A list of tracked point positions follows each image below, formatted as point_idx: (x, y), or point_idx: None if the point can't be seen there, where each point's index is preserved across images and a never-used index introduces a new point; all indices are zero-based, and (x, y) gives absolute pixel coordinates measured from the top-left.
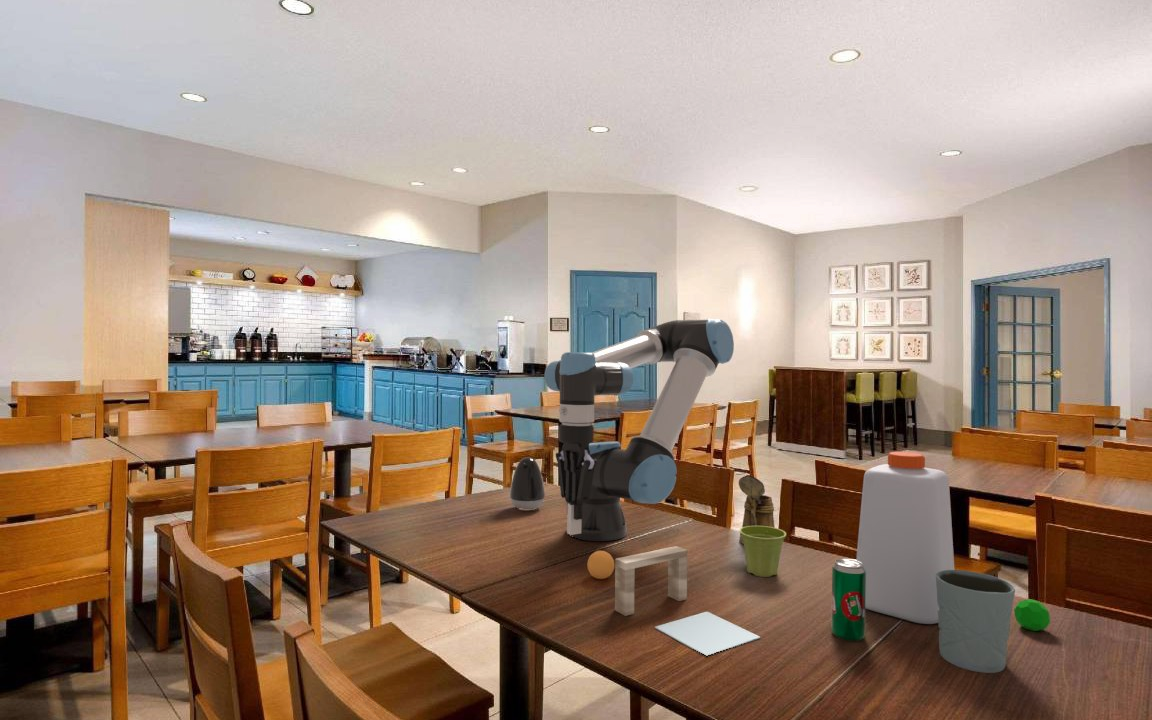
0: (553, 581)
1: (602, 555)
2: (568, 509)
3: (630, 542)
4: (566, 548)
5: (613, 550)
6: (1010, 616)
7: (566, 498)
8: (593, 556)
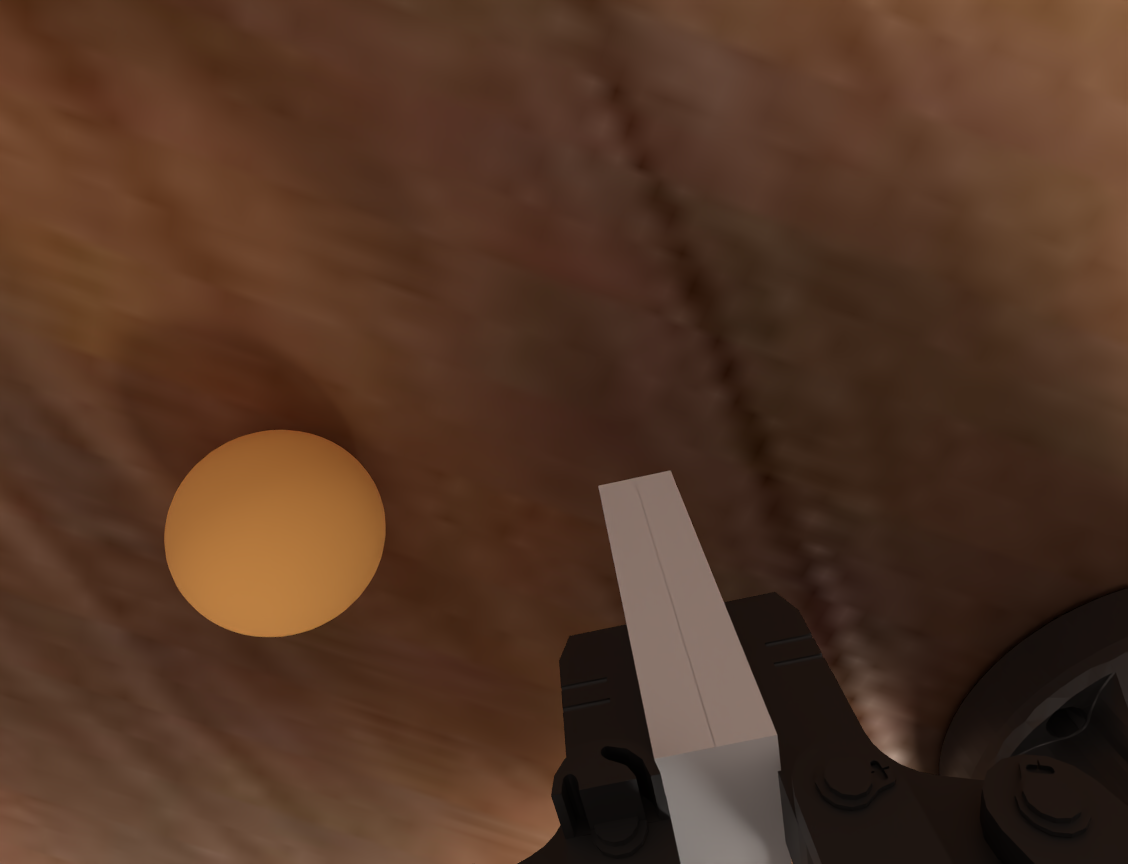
0: (316, 141)
1: (187, 576)
2: (717, 663)
3: None
4: (973, 475)
5: None
6: None
7: (848, 795)
8: (224, 512)
